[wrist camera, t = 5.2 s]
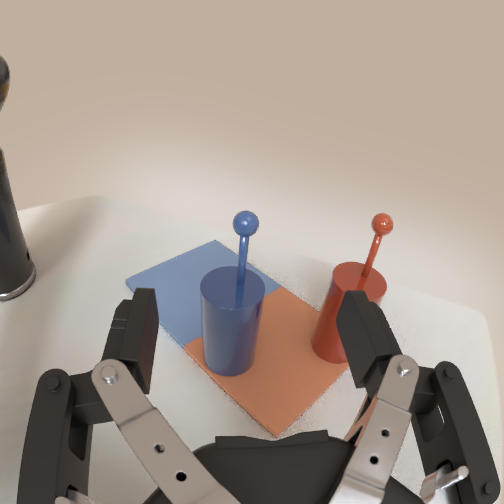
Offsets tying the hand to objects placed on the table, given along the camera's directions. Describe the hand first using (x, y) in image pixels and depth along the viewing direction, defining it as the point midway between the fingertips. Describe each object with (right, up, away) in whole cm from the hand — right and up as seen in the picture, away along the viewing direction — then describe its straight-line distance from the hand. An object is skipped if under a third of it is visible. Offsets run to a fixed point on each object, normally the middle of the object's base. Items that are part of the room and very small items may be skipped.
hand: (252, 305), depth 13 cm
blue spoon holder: (-3, -9, +20) cm, 22 cm away
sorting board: (-2, -6, +26) cm, 26 cm away
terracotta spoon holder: (+9, -9, +22) cm, 26 cm away
